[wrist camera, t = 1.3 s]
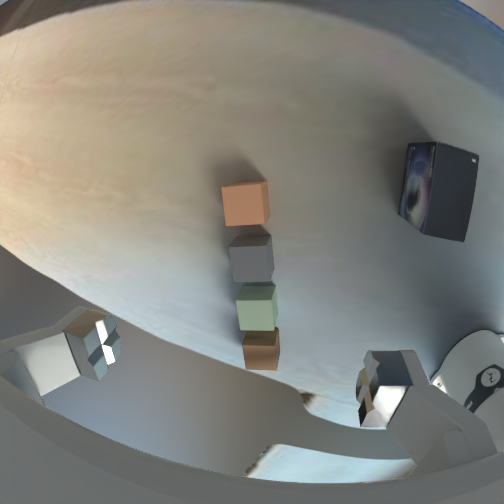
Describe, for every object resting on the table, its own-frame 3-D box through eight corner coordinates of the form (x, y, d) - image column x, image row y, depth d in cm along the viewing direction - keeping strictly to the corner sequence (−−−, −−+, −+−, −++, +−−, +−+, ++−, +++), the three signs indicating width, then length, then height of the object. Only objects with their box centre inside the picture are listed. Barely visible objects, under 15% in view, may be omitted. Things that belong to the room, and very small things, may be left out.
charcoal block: (274, 267, 43) (269, 281, 38) (241, 268, 44) (233, 282, 39) (271, 235, 41) (266, 245, 37) (237, 236, 42) (228, 247, 38)
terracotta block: (270, 215, 40) (264, 223, 36) (235, 218, 41) (226, 226, 37) (266, 180, 39) (260, 183, 34) (231, 183, 40) (221, 187, 35)
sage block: (277, 313, 45) (273, 330, 40) (247, 313, 46) (240, 330, 42) (275, 284, 44) (271, 300, 39) (243, 285, 45) (235, 300, 40)
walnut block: (280, 351, 48) (276, 370, 43) (251, 351, 49) (245, 369, 44) (278, 327, 46) (274, 346, 41) (248, 327, 47) (242, 345, 42)
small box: (405, 141, 33) (435, 138, 23) (444, 152, 32) (481, 153, 22) (395, 215, 37) (421, 235, 27) (433, 222, 36) (466, 243, 26)
